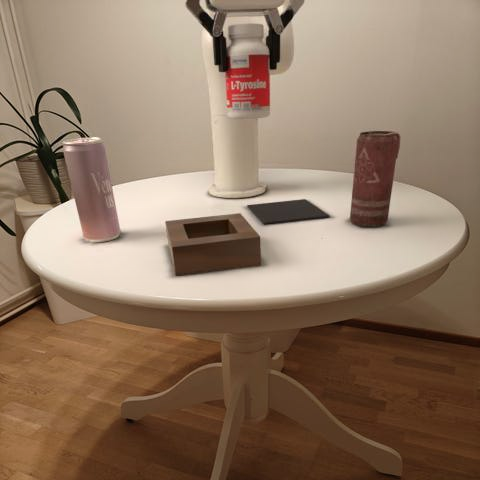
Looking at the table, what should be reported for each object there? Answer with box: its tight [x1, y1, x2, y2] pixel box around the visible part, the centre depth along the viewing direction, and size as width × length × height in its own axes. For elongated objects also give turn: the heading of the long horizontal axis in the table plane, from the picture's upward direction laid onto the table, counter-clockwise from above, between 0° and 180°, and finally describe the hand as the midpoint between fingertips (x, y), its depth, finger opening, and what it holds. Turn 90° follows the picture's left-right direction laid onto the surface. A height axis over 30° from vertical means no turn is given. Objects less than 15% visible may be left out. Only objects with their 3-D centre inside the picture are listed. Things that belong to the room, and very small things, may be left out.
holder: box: [164, 212, 262, 277], centre depth 60 cm, size 12×12×4 cm
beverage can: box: [62, 137, 121, 243], centre depth 66 cm, size 6×6×15 cm
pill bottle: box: [225, 23, 271, 119], centre depth 58 cm, size 6×6×11 cm
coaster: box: [246, 198, 330, 226], centre depth 78 cm, size 12×12×1 cm
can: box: [349, 130, 401, 228], centre depth 68 cm, size 6×6×14 cm
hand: (247, 69), depth 58 cm, fingers closed on pill bottle, 6 cm apart
